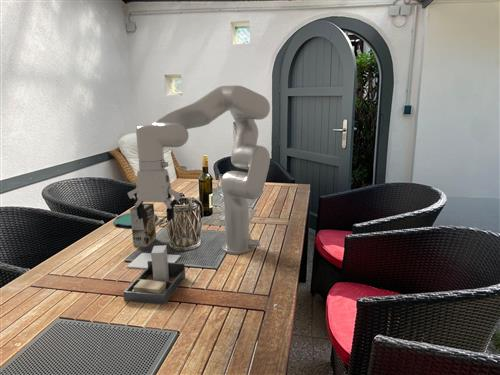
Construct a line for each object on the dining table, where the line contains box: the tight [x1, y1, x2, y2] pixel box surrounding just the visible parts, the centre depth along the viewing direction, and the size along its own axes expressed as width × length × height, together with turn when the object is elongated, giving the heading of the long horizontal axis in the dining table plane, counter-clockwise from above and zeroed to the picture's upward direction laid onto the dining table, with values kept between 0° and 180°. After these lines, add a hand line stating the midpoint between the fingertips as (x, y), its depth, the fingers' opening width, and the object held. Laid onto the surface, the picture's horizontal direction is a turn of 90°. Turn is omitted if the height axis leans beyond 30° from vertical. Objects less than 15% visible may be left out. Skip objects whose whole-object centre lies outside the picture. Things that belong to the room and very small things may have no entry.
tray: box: [122, 261, 186, 306], centre depth 118 cm, size 13×17×5 cm
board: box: [126, 252, 181, 270], centre depth 137 cm, size 16×12×1 cm
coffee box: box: [129, 203, 157, 248], centre depth 154 cm, size 9×6×16 cm
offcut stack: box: [132, 279, 166, 294], centre depth 114 cm, size 10×5×4 cm, turn 78°
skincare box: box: [150, 244, 170, 281], centre depth 121 cm, size 6×4×12 cm
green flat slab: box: [112, 212, 167, 228], centre depth 182 cm, size 20×30×2 cm, turn 80°
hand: (155, 218), depth 117 cm, fingers open, 9 cm apart
